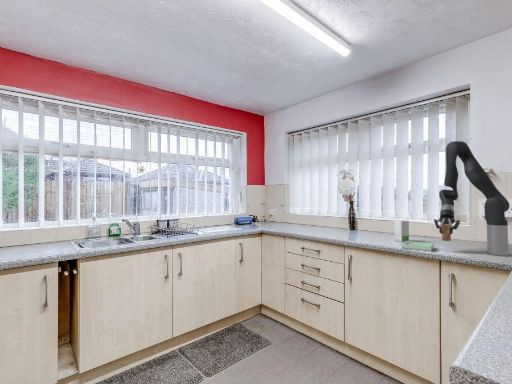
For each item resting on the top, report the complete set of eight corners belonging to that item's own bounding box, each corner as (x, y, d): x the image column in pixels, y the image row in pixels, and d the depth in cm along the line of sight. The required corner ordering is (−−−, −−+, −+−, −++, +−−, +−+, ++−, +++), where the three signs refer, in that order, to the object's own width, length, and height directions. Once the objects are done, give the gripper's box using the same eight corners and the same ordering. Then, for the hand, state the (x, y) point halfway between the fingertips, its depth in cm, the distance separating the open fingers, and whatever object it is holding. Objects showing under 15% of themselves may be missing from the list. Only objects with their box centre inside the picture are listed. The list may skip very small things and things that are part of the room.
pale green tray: (434, 248, 177) (433, 243, 177) (430, 251, 166) (430, 246, 166) (406, 245, 187) (406, 241, 187) (401, 248, 177) (401, 243, 177)
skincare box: (401, 242, 202) (401, 221, 202) (394, 240, 208) (393, 220, 209) (409, 241, 205) (409, 220, 206) (401, 240, 211) (401, 220, 212)
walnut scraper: (450, 240, 168) (450, 224, 168) (450, 241, 165) (449, 224, 165) (443, 239, 170) (442, 223, 171) (442, 240, 167) (441, 224, 168)
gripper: (433, 208, 178) (431, 228, 169) (460, 208, 169) (459, 230, 160) (435, 216, 182) (432, 236, 173) (461, 216, 173) (460, 238, 163)
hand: (445, 233), depth 166 cm, fingers closed on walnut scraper, 4 cm apart
